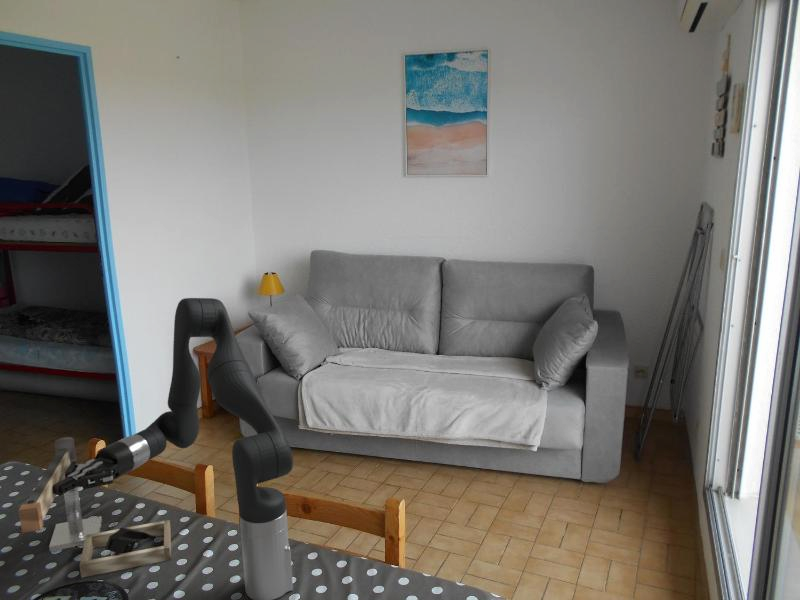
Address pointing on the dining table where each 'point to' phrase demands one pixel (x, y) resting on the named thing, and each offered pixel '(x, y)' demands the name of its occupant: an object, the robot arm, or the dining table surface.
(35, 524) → the bar
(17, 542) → the dining table surface
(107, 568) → the frame
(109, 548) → the power plug
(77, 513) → the arm post
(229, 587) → the dining table surface
